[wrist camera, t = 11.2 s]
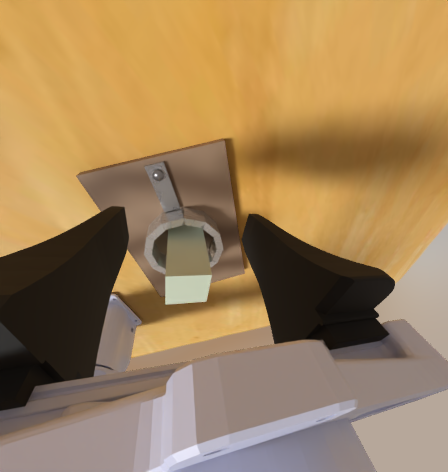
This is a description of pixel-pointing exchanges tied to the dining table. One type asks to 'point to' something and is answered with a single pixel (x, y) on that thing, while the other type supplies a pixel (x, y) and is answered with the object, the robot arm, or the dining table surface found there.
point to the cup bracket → (173, 205)
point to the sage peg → (187, 266)
